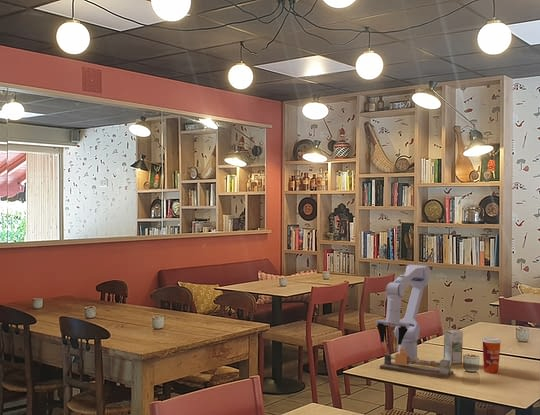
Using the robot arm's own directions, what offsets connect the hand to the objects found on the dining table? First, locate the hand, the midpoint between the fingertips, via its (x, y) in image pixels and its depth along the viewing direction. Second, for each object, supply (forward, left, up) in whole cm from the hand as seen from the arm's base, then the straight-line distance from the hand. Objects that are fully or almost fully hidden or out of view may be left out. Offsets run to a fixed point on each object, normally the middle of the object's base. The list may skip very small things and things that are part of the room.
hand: (390, 343), depth 274 cm
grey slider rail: (-1, +11, -10) cm, 15 cm away
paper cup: (-19, +37, -11) cm, 43 cm away
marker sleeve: (-1, +5, -8) cm, 9 cm away
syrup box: (-26, +19, -11) cm, 34 cm away
